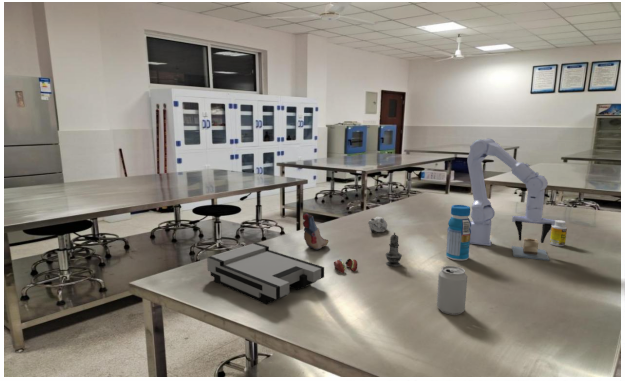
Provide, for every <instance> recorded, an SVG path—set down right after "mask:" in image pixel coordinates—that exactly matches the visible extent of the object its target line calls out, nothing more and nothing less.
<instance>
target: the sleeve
mask: <svg viewBox="0 0 625 381" xmlns="http://www.w3.org/2000/svg"><path fill="white" fill-rule="evenodd" d="M522 247H523V252H524V253H525V254H533V255H537V252H538V249H539V240H538V239H537V238H529V237H523V245H522Z"/></svg>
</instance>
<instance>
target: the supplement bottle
mask: <svg viewBox="0 0 625 381" xmlns="http://www.w3.org/2000/svg"><path fill="white" fill-rule="evenodd" d="M554 220H555V226H552V225H551V226H552V227H551V229H550V230H551V231H550V238H549V243H550V245H552V246H555V247H564V246H565V245H566V241H567V240H566V239H567V232H568V227H567V225H566V223H567V222H566V221H565V220H561V219H560V220H559V219H557V220H556V219H554Z"/></svg>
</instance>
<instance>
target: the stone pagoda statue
mask: <svg viewBox="0 0 625 381" xmlns="http://www.w3.org/2000/svg"><path fill="white" fill-rule="evenodd" d="M389 240H390V241H389V242H390V243H389V244H388V246H389V250H388V251H389V252H387V253H385V257H386V260H387V262H386V263H385V265H386V266H388V267H392V268H397V267H401V263H400V260H401V259H402V257H403V255H402V254H401V253H399V247H400V244H399V236H398V235H397V234H396V232H393V234H392V235H391V236H390V239H389Z"/></svg>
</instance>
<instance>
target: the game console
mask: <svg viewBox="0 0 625 381" xmlns="http://www.w3.org/2000/svg"><path fill="white" fill-rule="evenodd" d="M269 247H270V246H269V245H268V246H267V245H265V244H263V243H259V242H253V243H249V244H247V245H244V246H241V247H237V248H234V249H231V250H227V251H223V252H221V253H216V254H213V255H211V256H207V257H206V262H207V264H206V265H207V271H208V272H210V276H211V277H212V278H213V280H214V281H213V282H215V283H217V284H219V285H222V286H224V287H226V288H228V289H231V290H233V291H235V292H237V293H240V294H242V295H244V296H246V297H249V298H251V299H253V300H256V301H258V302H260V303H262V304H264V305H268V304H270V303H273V302H276V301H277V300H280V299H282V298H284V297H286V296H287V295H288V294H290V288H292V289H294V290H297V291H298V290H301V289H302V288H307V287H308V286H310V285H312V284H315V283H316V282H317V281H319V280H321V279H324V278H325V267H324V266H322V265H319V264H315V263H312V262H308V261H305V260H302V259H299V258H297V257H293V256H291V255H290V256H289V255H287V254H283V253H280V252H277V251H274V250H271V249H270V248H269Z"/></svg>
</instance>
